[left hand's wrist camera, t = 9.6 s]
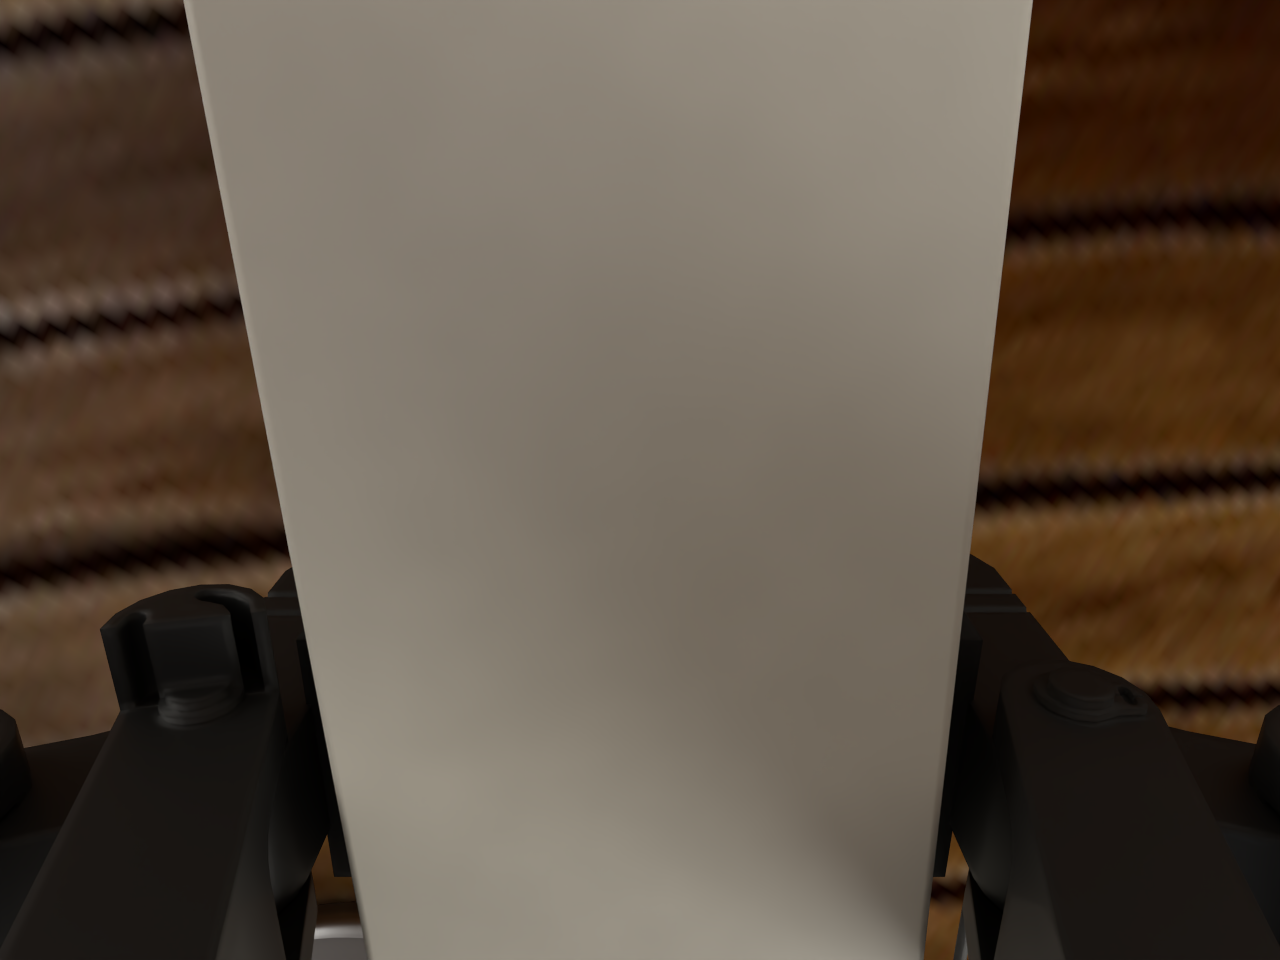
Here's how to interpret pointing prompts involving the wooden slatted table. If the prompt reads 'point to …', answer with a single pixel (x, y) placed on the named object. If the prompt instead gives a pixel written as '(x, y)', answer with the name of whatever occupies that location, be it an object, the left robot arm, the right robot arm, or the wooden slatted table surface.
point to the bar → (625, 446)
